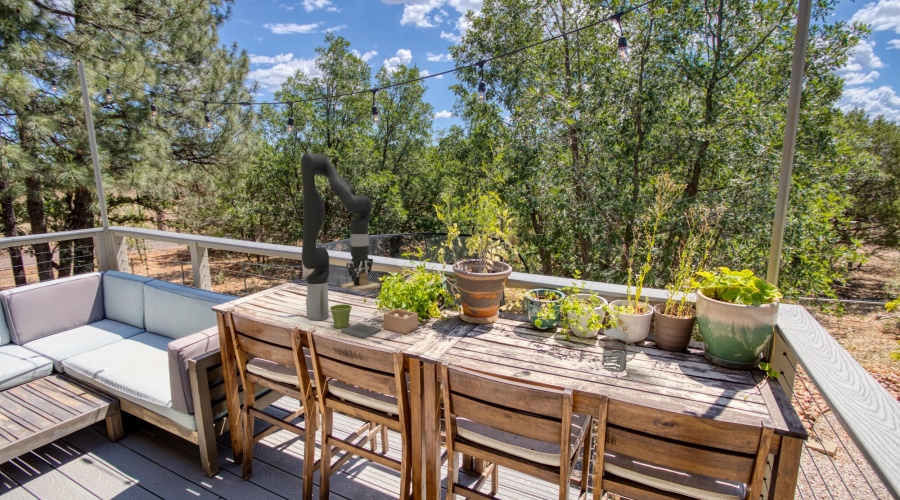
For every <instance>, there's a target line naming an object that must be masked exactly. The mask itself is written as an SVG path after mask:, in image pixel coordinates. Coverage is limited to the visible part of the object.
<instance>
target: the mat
mask: <svg viewBox="0 0 900 500" xmlns="http://www.w3.org/2000/svg"><path fill="white" fill-rule="evenodd" d="M380 332H382V328H380V327H377V326H372V325H368V324H366V323H361V322H358V323H355V324H353V325H351V326H348V327H345V328H342V329H341V330H340V333H342V334H345V335H349V336H353V337H355V338H360V339H367V338H369V337H371V336H373V335H376V334H379V333H380Z"/></svg>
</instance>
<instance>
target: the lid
mask: <svg viewBox="0 0 900 500" xmlns="http://www.w3.org/2000/svg"><path fill="white" fill-rule="evenodd" d="M380 287H381V284H380V283H377V282H376V283H375V282H370V281H368V274H367V272H361V271H360V272H359V286H356V285H354V280H352V281H349V282H345V283H340V288H342V289H347V290H352V291H358V292H363V293H365V292H368V291H371V290H375V289H378V288H380Z"/></svg>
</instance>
